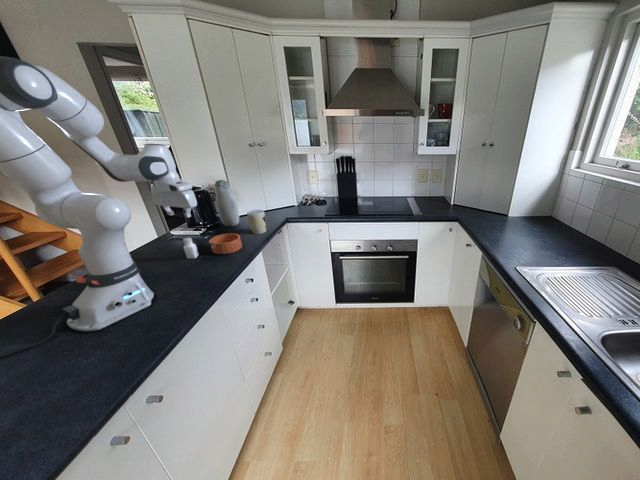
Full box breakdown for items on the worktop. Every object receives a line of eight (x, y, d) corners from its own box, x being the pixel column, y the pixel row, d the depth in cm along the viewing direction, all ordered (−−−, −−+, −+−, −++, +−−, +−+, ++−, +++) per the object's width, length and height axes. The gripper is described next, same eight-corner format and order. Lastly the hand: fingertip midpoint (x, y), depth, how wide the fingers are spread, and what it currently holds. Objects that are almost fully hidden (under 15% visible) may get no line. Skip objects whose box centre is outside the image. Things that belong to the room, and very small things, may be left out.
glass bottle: (219, 228, 165) (206, 181, 152) (229, 223, 174) (218, 178, 161) (234, 229, 164) (222, 182, 151) (244, 223, 173) (234, 178, 160)
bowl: (229, 256, 131) (225, 245, 128) (205, 253, 134) (202, 242, 131) (248, 245, 143) (246, 234, 140) (226, 242, 146) (224, 232, 143)
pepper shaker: (190, 255, 131) (184, 237, 127) (199, 255, 132) (193, 236, 128) (186, 259, 128) (180, 240, 124) (196, 258, 129) (190, 240, 124)
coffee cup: (269, 232, 160) (266, 212, 155) (252, 235, 155) (248, 215, 150) (265, 227, 167) (262, 208, 161) (249, 230, 162) (245, 211, 157)
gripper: (142, 184, 114) (154, 216, 121) (181, 187, 110) (191, 220, 116) (157, 181, 120) (168, 211, 126) (194, 184, 115) (204, 215, 122)
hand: (179, 216), depth 121 cm, fingers open, 8 cm apart
